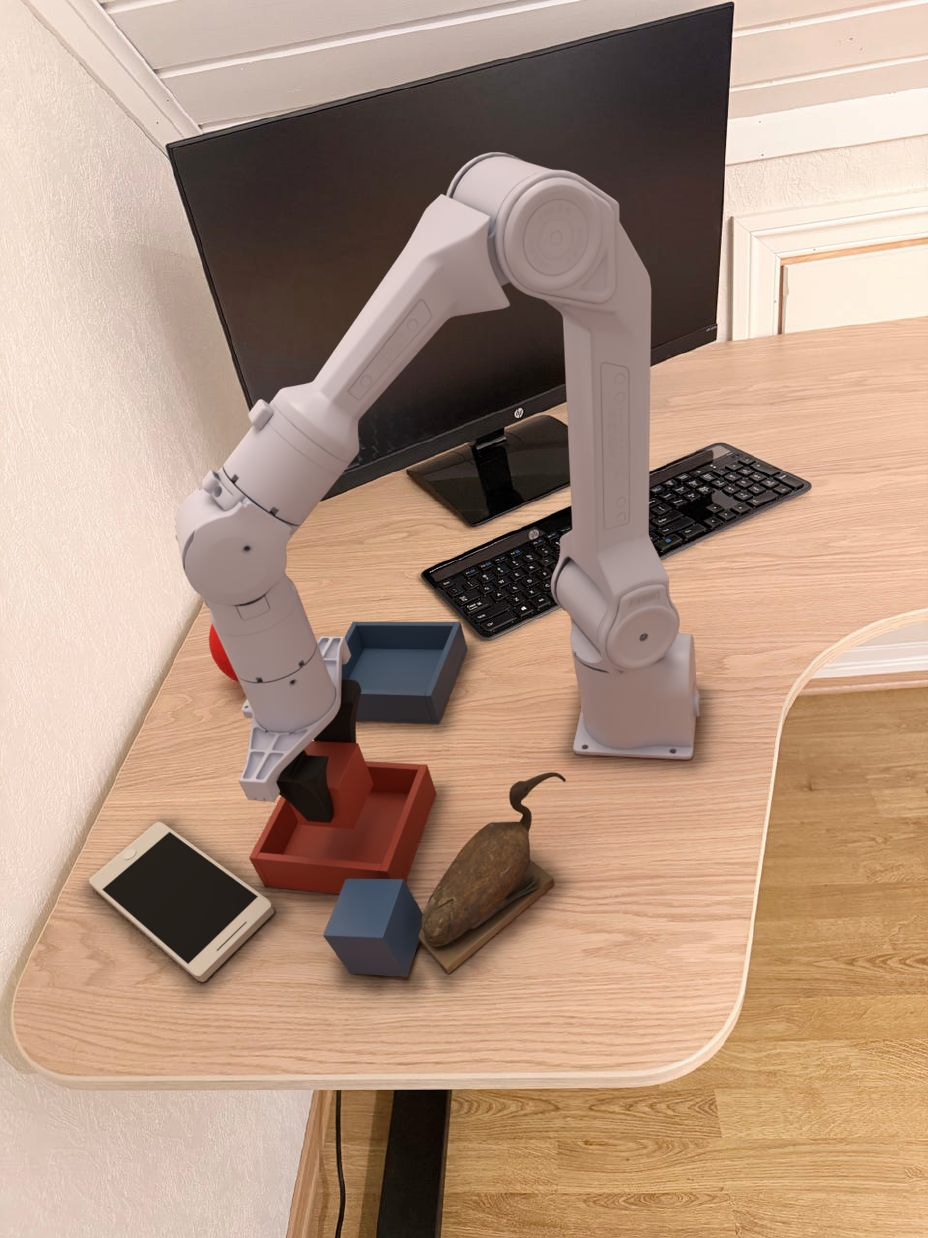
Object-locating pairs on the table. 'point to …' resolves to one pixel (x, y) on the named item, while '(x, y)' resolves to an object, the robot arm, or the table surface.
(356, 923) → the blue block
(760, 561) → the table surface
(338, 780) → the red block
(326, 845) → the red bin
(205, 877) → the smartphone
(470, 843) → the figurine
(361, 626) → the blue bin
